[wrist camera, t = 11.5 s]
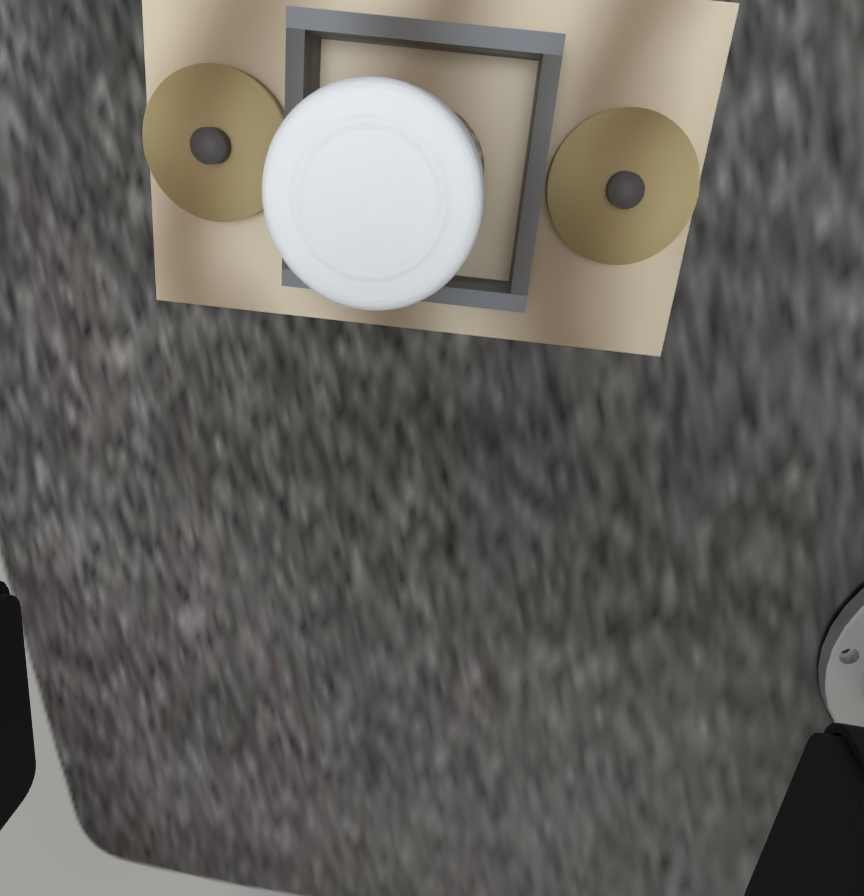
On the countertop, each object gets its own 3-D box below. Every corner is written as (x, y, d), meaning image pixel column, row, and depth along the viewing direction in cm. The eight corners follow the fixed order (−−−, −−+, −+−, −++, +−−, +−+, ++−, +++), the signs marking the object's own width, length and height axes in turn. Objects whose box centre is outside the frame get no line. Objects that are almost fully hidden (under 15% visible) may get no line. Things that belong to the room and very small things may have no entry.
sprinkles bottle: (337, 144, 27) (209, 155, 15) (447, 74, 26) (409, 20, 14) (402, 257, 28) (335, 353, 16) (509, 195, 27) (525, 246, 15)
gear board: (726, 10, 26) (765, -11, 22) (652, 346, 31) (674, 375, 27) (157, -47, 26) (103, -76, 23) (171, 292, 31) (128, 313, 27)
